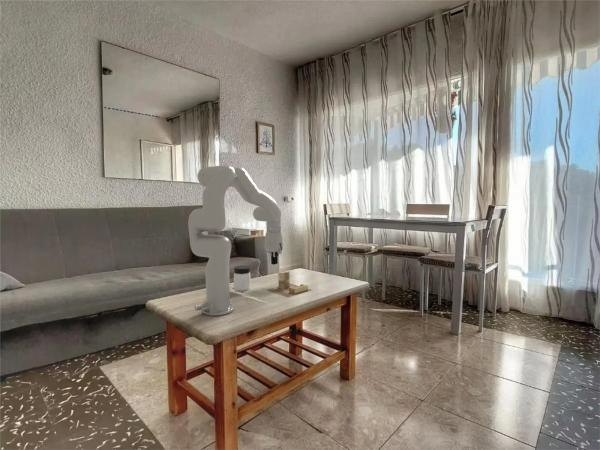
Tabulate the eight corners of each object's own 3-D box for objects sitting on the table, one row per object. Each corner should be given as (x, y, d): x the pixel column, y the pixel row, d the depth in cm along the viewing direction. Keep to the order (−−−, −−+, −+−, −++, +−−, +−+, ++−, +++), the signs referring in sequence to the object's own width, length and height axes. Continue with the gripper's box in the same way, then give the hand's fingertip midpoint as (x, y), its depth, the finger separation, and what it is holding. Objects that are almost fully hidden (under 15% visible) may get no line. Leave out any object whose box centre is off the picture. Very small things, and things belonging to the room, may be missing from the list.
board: (288, 299, 143) (287, 297, 143) (265, 292, 155) (265, 289, 155) (313, 292, 155) (313, 289, 155) (290, 285, 167) (290, 283, 167)
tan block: (283, 288, 157) (282, 273, 157) (278, 287, 160) (278, 272, 159) (289, 287, 160) (289, 271, 160) (285, 285, 163) (284, 270, 162)
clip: (294, 294, 148) (294, 289, 148) (289, 292, 151) (289, 287, 150) (307, 290, 154) (307, 285, 154) (302, 288, 157) (302, 284, 157)
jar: (237, 293, 153) (236, 269, 152) (231, 289, 160) (230, 266, 159) (253, 290, 158) (253, 267, 157) (247, 287, 165) (247, 264, 164)
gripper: (259, 229, 166) (260, 263, 168) (277, 231, 156) (278, 267, 157) (270, 228, 171) (271, 260, 173) (288, 230, 161) (289, 264, 163)
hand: (274, 263), depth 165 cm, fingers closed
